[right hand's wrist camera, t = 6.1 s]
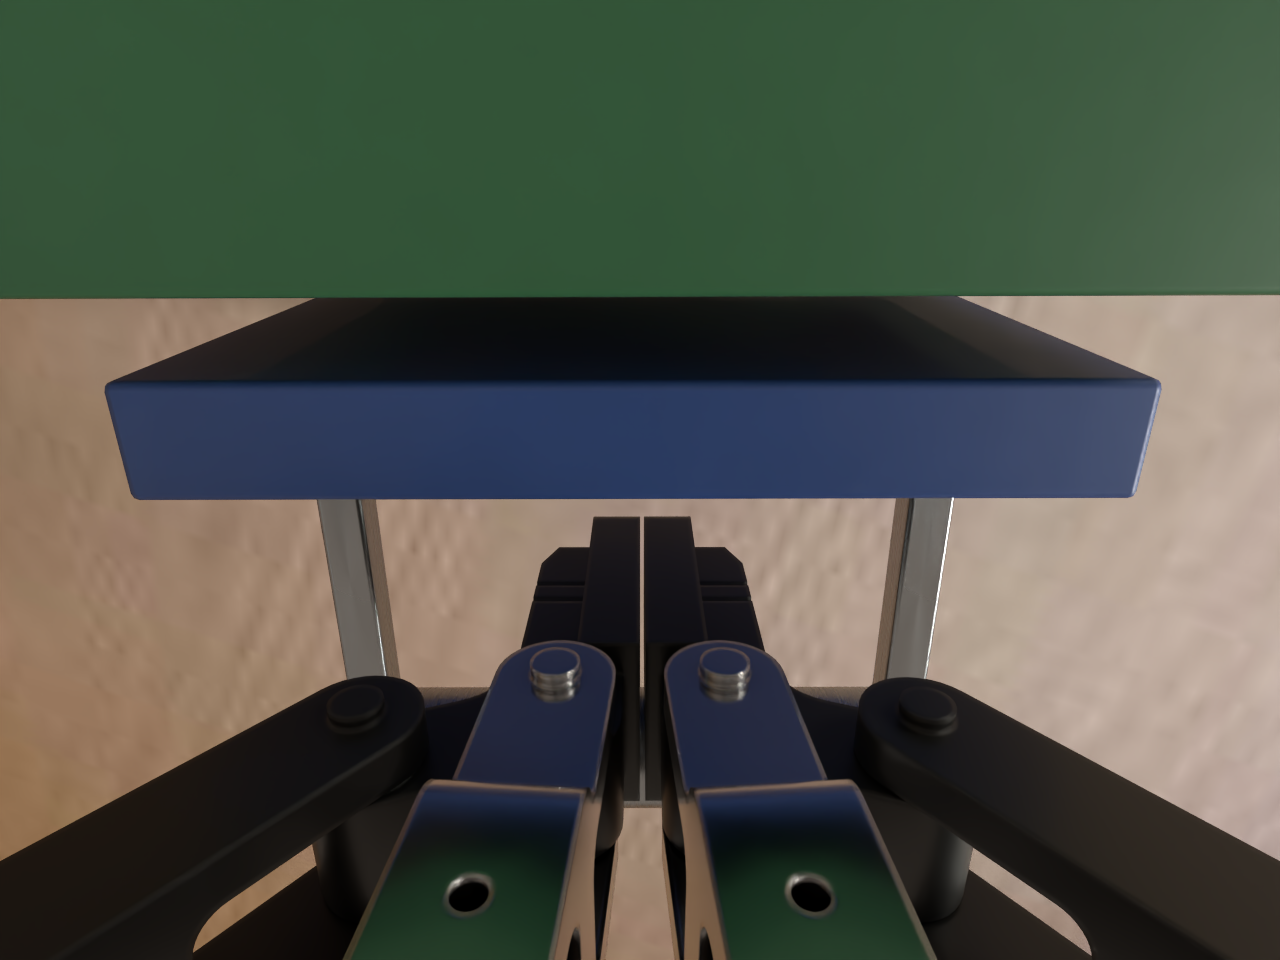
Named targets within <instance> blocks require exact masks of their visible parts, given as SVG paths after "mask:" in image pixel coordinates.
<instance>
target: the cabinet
mask: <svg viewBox="0 0 1280 960" xmlns="http://www.w3.org/2000/svg"><path fill="white" fill-rule="evenodd" d="M1134 295H1280V0H0V299H121V298H459V297H797V296H1134Z"/></svg>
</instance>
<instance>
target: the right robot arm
mask: <svg viewBox="0 0 1280 960" xmlns="http://www.w3.org/2000/svg"><path fill="white" fill-rule="evenodd" d="M533 598H534V600H533V601H532V605H531V610H530V614H529V618H528V622H527V626H526V630H525V634H524V638H523V642H522V646H521V649H520V650H518V651H516V652H514V653H513V654H511V655H510V656H508V657H507V658H506V659H505V660H504V661H503V662H502V663H501V664H500V666H499V667H498V669H497V671H496V673H495V676H494V678H493V681H492V683H491V686H490V688H489V690H488V691H486V692H484V693H482V694H479V695H476V696H474V697H471V698H468V699H464V700H460V701H456V702H451V703H446V704H442V705H437V706H432V707H428V708H425V705H424V698H423V696H422V693H421V692H420V691H419V690H418V688H417V687H415V686H414V685H413V684H411V683H410V682H408V681H405V680H403V679H400V678H396V677H390V676H376V675H375V676H363V677H357V678H352V679H348V680H344V681H341V682H338V683H335V684H333V685H330V686H328V687H326V688H324V689H322V690H320V691H318V692H316V693H314V694H312V695H310V696H309V697H307V698H305V699H303V700H301V701H299V702H297V703H296V704H294V705H292V706H290V707H288V708H286V709H284V710H282V711H281V712H279V713H277V714H275V715H273V716H271V717H269V718H267V719H266V720H264V721H262V722H260V723H258V724H256V725H254V726H252V727H251V728H249V729H247V730H245V731H243V732H241V733H239V734H237V735H236V736H234V737H232V738H230V739H228V740H226V741H224V742H223V743H221V744H219V745H217V746H215V747H213V748H211V749H209V750H208V751H206V752H204V753H202V754H200V755H198V756H196V757H194V758H193V759H191V760H189V761H187V762H185V763H183V764H181V765H179V766H178V767H176V768H174V769H172V770H170V771H168V772H166V773H164V774H163V775H161V776H159V777H157V778H155V779H153V780H151V781H149V782H148V783H146V784H144V785H142V786H140V787H138V788H136V789H135V790H133V791H131V792H129V793H127V794H125V795H123V796H121V797H120V798H118V799H116V800H114V801H112V802H110V803H108V804H106V805H105V806H103V807H101V808H99V809H97V810H95V811H93V812H91V813H90V814H88V815H86V816H84V817H82V818H80V819H78V820H76V821H75V822H73V823H71V824H69V825H67V826H65V827H63V828H62V829H60V830H58V831H56V832H54V833H52V834H50V835H48V836H47V837H45V838H43V839H41V840H39V841H37V842H35V843H33V844H32V845H30V846H28V847H26V848H24V849H22V850H20V851H18V852H17V853H15V854H13V855H11V856H9V857H7V858H5V859H3V860H2V861H0V960H605V959H606V951H607V943H608V935H609V927H610V919H611V911H612V902H613V894H614V886H615V878H616V870H617V862H618V837H619V835H620V833H621V830H622V826H623V811H624V801H640V517H594V518H593V526H592V533H591V541H590V547H559V548H558V549H557V550H556V551H555V552H554V553H553V554H552V555H550V556H549V557H548V558H547V559H546V560H545V561H544V562H543V563H542V565H541V569H540V573H539V577H538V581H537V586H536V589H535V593H534V597H533ZM644 717H645V801H662V862H663V870H664V878H665V886H666V894H667V902H668V911H669V919H670V927H671V935H672V943H673V951H674V959H675V960H1280V861H1278V860H1277V859H1275V858H1273V857H1271V856H1269V855H1267V854H1265V853H1263V852H1262V851H1260V850H1258V849H1256V848H1254V847H1252V846H1250V845H1248V844H1247V843H1245V842H1243V841H1241V840H1239V839H1237V838H1235V837H1234V836H1232V835H1230V834H1228V833H1226V832H1224V831H1222V830H1220V829H1219V828H1217V827H1215V826H1213V825H1211V824H1209V823H1207V822H1205V821H1204V820H1202V819H1200V818H1198V817H1196V816H1194V815H1192V814H1190V813H1189V812H1187V811H1185V810H1183V809H1181V808H1179V807H1177V806H1175V805H1174V804H1172V803H1170V802H1168V801H1166V800H1164V799H1162V798H1160V797H1159V796H1157V795H1155V794H1153V793H1151V792H1149V791H1147V790H1146V789H1144V788H1142V787H1140V786H1138V785H1136V784H1134V783H1132V782H1131V781H1129V780H1127V779H1125V778H1123V777H1121V776H1119V775H1117V774H1116V773H1114V772H1112V771H1110V770H1108V769H1106V768H1104V767H1102V766H1101V765H1099V764H1097V763H1095V762H1093V761H1091V760H1089V759H1087V758H1086V757H1084V756H1082V755H1080V754H1078V753H1076V752H1074V751H1072V750H1071V749H1069V748H1067V747H1065V746H1063V745H1061V744H1059V743H1058V742H1056V741H1054V740H1052V739H1050V738H1048V737H1046V736H1044V735H1043V734H1041V733H1039V732H1037V731H1035V730H1033V729H1031V728H1029V727H1028V726H1026V725H1024V724H1022V723H1020V722H1018V721H1016V720H1014V719H1013V718H1011V717H1009V716H1007V715H1005V714H1003V713H1001V712H999V711H998V710H996V709H994V708H992V707H990V706H988V705H986V704H985V703H983V702H981V701H979V700H977V699H975V698H973V697H971V696H970V695H968V694H966V693H964V692H962V691H960V690H958V689H956V688H954V687H951V686H949V685H946V684H943V683H940V682H936V681H933V680H928V679H922V678H914V677H896V678H890V679H885V680H882V681H879V682H877V683H875V684H872V685H871V686H870V687H868V688H867V689H866V690H865V691H864V692H863V694H862V695H861V697H860V700H859V705H858V707H855V706H850V705H845V704H841V703H836V702H831V701H827V700H823V699H819V698H815V697H813V696H810V695H807V694H805V693H802V692H800V691H798V690H796V689H794V688H793V687H791V686H789V683H788V681H787V678H786V676H785V673H784V671H783V669H782V667H781V666H780V664H779V663H778V662H777V661H776V660H775V659H774V658H773V657H772V656H770V655H769V654H767V653H766V652H765V650H764V646H763V642H762V638H761V634H760V630H759V626H758V622H757V618H756V614H755V611H754V607H753V603H752V601H751V595H750V591H749V587H748V585H747V579H746V575H745V572H744V568H743V564H742V562H740V561H739V560H738V559H737V558H736V557H735V556H734V555H733V554H732V553H731V552H729V551H728V550H727V549H726V548H725V547H695V546H694V538H693V531H692V524H691V518H690V517H644ZM311 844H312V846H313V850H314V855H315V860H316V866H315V867H314V868H312V869H311V870H309V871H308V872H307V873H305V874H304V875H302V876H301V877H300V878H298V879H297V880H295V881H294V882H292V883H291V884H290V885H288V886H287V887H285V888H284V889H283V890H281V891H280V892H278V893H277V894H276V895H274V896H273V897H271V898H270V899H268V900H267V901H266V902H264V903H263V904H261V905H260V906H259V907H257V908H256V909H254V910H253V911H252V912H250V913H249V914H247V915H246V916H245V917H243V918H242V919H240V920H239V921H237V922H236V923H235V924H233V925H232V926H230V927H229V928H228V929H226V930H225V931H223V932H222V933H221V934H219V935H218V936H216V937H215V938H213V939H212V940H211V941H209V942H208V943H206V944H205V945H204V946H202V947H201V948H199V949H198V950H197V951H195V952H194V953H193V948H194V944H195V941H196V939H197V937H198V934H199V933H200V931H201V929H202V927H203V926H204V925H205V923H206V922H207V921H208V919H209V918H210V917H211V916H212V915H213V914H214V913H215V912H216V911H217V910H218V909H219V908H220V907H221V906H223V905H224V904H225V903H227V902H228V901H229V900H231V899H232V898H234V897H235V896H237V895H238V894H240V893H241V892H243V891H244V890H245V889H247V888H248V887H250V886H251V885H253V884H254V883H256V882H257V881H259V880H260V879H262V878H263V877H264V876H266V875H267V874H269V873H270V872H272V871H273V870H275V869H276V868H278V867H279V866H281V865H282V864H283V863H285V862H286V861H288V860H289V859H291V858H292V857H294V856H295V855H297V854H298V853H300V852H301V851H302V850H304V849H305V848H307V847H308V846H310V845H311ZM973 848H975V849H976V850H978V851H979V852H980V853H982V854H983V855H985V856H986V857H988V858H989V859H991V860H992V861H994V862H995V863H997V864H998V865H999V866H1001V867H1002V868H1004V869H1005V870H1007V871H1008V872H1010V873H1011V874H1013V875H1014V876H1016V877H1017V878H1018V879H1020V880H1021V881H1023V882H1024V883H1026V884H1027V885H1029V886H1030V887H1032V888H1033V889H1035V890H1036V891H1037V892H1039V893H1040V894H1042V895H1043V896H1045V897H1046V898H1048V899H1049V900H1051V901H1052V902H1054V903H1055V904H1056V905H1058V906H1059V907H1060V908H1062V909H1063V910H1064V911H1065V912H1066V913H1068V914H1069V915H1070V916H1071V917H1072V919H1073V920H1074V921H1075V922H1076V923H1077V924H1078V926H1079V927H1080V928H1081V930H1082V931H1083V933H1084V935H1085V937H1086V938H1087V941H1088V943H1089V945H1090V949H1091V953H1092V956H1091V955H1089V954H1088V953H1086V952H1085V951H1083V950H1082V949H1081V948H1079V947H1078V946H1076V945H1075V944H1074V943H1072V942H1071V941H1069V940H1068V939H1067V938H1065V937H1064V936H1062V935H1061V934H1059V933H1058V932H1057V931H1055V930H1054V929H1052V928H1051V927H1050V926H1048V925H1047V924H1045V923H1044V922H1043V921H1041V920H1040V919H1038V918H1037V917H1036V916H1034V915H1033V914H1031V913H1030V912H1028V911H1027V910H1026V909H1024V908H1023V907H1021V906H1020V905H1019V904H1017V903H1016V902H1014V901H1013V900H1012V899H1010V898H1009V897H1007V896H1006V895H1004V894H1003V893H1002V892H1000V891H999V890H997V889H996V888H995V887H993V886H992V885H990V884H989V883H988V882H986V881H985V880H983V879H982V878H980V877H979V876H978V875H976V874H975V873H973V872H972V871H971V870H969V865H970V860H971V855H972V851H973Z"/></svg>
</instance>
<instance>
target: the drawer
mask: <svg viewBox="0 0 1280 960" xmlns="http://www.w3.org/2000/svg"><path fill="white" fill-rule="evenodd" d="M1160 393H1161V383H1160V382H1159V380H1157V379H1154V378H1152V377H1150V376H1147V375H1145V374H1142V373H1140V372H1138V371H1135V370H1133V369H1130V368H1128V367H1126V366H1123V365H1121V364H1118V363H1116V362H1114V361H1111V360H1109V359H1106V358H1104V357H1102V356H1099V355H1097V354H1094V353H1092V352H1090V351H1087V350H1085V349H1082V348H1080V347H1078V346H1075V345H1073V344H1070V343H1068V342H1066V341H1063V340H1061V339H1058V338H1056V337H1054V336H1051V335H1049V334H1046V333H1044V332H1042V331H1039V330H1037V329H1034V328H1032V327H1030V326H1027V325H1025V324H1022V323H1020V322H1018V321H1015V320H1013V319H1010V318H1008V317H1006V316H1003V315H1001V314H998V313H996V312H993V311H991V310H989V309H986V308H984V307H981V306H979V305H977V304H974V303H972V302H969V301H967V300H965V299H962V298H960V297H957V296H797V297H459V298H315V299H312V300H310V301H307V302H305V303H302V304H300V305H297V306H295V307H292V308H290V309H288V310H285V311H283V312H280V313H278V314H275V315H273V316H270V317H268V318H265V319H263V320H260V321H258V322H256V323H253V324H251V325H248V326H246V327H243V328H241V329H238V330H236V331H233V332H231V333H229V334H226V335H224V336H221V337H219V338H216V339H214V340H211V341H209V342H206V343H204V344H202V345H199V346H197V347H194V348H192V349H189V350H187V351H184V352H182V353H179V354H177V355H175V356H172V357H170V358H167V359H165V360H162V361H160V362H157V363H155V364H152V365H150V366H148V367H145V368H143V369H140V370H138V371H135V372H133V373H130V374H128V375H125V376H123V377H121V378H118V379H116V380H113V381H111V382H109V383H107V384H106V386H105V396H106V399H107V403H108V407H109V411H110V415H111V419H112V422H113V426H114V430H115V434H116V438H117V442H118V445H119V449H120V453H121V457H122V461H123V465H124V468H125V472H126V476H127V480H128V484H129V488H130V491H131V494H132V495H133V497H134V498H136V499H139V500H279V499H317V504H318V510H319V516H320V522H321V527H322V533H323V539H324V545H325V551H326V557H327V563H328V569H329V575H330V581H331V587H332V593H333V599H334V605H335V611H336V617H337V623H338V629H339V635H340V641H341V647H342V653H343V659H344V665H345V671H346V677H347V680H348V679H352V678H357V677H363V676H375V675H376V676H390V677H396V678H400V673H399V666H398V659H397V651H396V644H395V637H394V630H393V622H392V615H391V608H390V601H389V593H388V586H387V579H386V572H385V564H384V557H383V550H382V543H381V535H380V528H379V521H378V513H377V506H376V499H752V498H896V503H895V510H894V518H893V526H892V534H891V542H890V550H889V558H888V566H887V574H886V582H885V590H884V598H883V605H882V613H881V621H880V629H879V637H878V645H877V653H876V661H875V669H874V677H873V684H875V683H877V682H879V681H882V680H885V679H890V678H896V677H914V678H922V679H926V677H927V670H928V664H929V657H930V651H931V645H932V638H933V632H934V625H935V619H936V612H937V606H938V600H939V593H940V587H941V580H942V574H943V568H944V561H945V555H946V548H947V542H948V535H949V529H950V523H951V516H952V510H953V503H954V498H1128V497H1131V496H1133V495H1134V494H1135V492H1136V490H1137V486H1138V482H1139V478H1140V474H1141V470H1142V466H1143V462H1144V458H1145V454H1146V450H1147V445H1148V441H1149V437H1150V433H1151V429H1152V425H1153V421H1154V417H1155V413H1156V409H1157V405H1158V401H1159V397H1160ZM417 688H418V690H419V691H420V692H421V693H422V696H423V698H424V705H425V708H428V707H432V706H437V705H442V704H446V703H451V702H456V701H460V700H464V699H468V698H471V697H474V696H476V695H479V694H482V693H484V692H486V691H488V690H489V688H490V687H417ZM793 688H794V689H796V690H798V691H800V692H802V693H805V694H807V695H810V696H813V697H815V698H819V699H823V700H827V701H831V702H836V703H841V704H845V705H850V706H855V707H858V705H859V700H860V697H861V695H862V694H863V692H864V691H865V690H866V689H867V688H868V687H793ZM624 808H662V801H645V717H644V687H640V801H624Z"/></svg>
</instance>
